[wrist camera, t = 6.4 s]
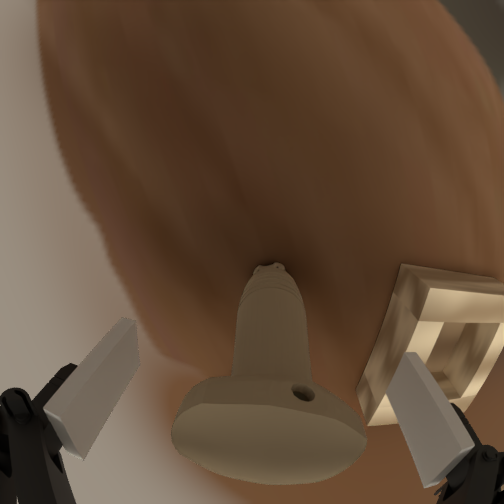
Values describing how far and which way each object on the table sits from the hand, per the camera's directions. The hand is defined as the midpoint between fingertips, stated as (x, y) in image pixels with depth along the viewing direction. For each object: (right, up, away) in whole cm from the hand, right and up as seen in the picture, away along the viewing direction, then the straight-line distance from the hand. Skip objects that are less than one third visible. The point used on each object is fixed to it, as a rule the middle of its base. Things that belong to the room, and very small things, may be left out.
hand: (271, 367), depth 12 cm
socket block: (+16, -3, +10) cm, 20 cm away
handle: (+1, +3, +10) cm, 10 cm away
